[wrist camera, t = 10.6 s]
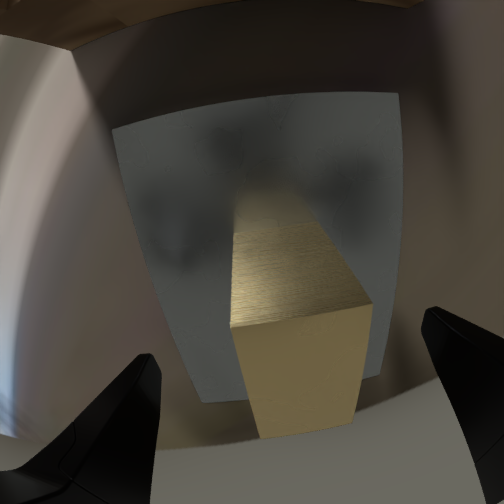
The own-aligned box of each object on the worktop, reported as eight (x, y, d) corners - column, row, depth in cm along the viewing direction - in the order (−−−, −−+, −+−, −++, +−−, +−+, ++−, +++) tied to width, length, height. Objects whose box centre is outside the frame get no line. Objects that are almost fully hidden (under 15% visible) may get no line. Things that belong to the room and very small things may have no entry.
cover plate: (385, 94, 9) (500, 92, 4) (373, 362, 15) (409, 446, 10) (122, 128, 9) (16, 149, 4) (203, 389, 15) (196, 482, 10)
